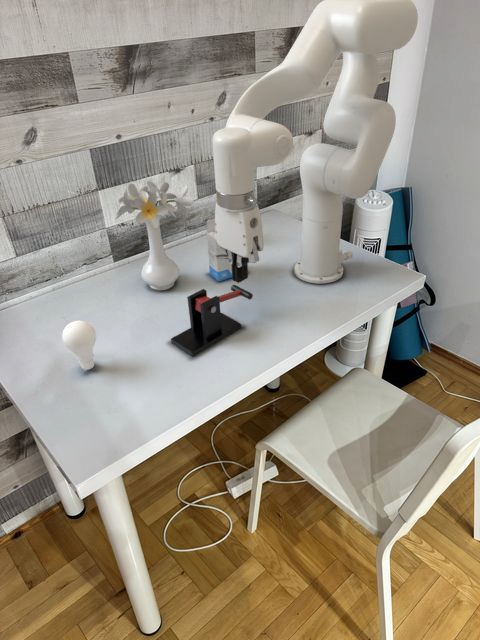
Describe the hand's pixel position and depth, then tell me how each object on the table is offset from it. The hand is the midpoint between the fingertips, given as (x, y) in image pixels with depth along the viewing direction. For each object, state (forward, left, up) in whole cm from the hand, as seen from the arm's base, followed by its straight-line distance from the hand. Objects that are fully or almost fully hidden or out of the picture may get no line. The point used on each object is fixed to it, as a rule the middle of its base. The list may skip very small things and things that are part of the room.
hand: (240, 279), depth 110 cm
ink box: (-7, -18, -10) cm, 22 cm away
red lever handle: (+5, +1, -4) cm, 7 cm away
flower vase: (+9, -23, -10) cm, 27 cm away
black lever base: (+10, +3, -10) cm, 14 cm away
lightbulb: (+35, 0, -10) cm, 37 cm away
